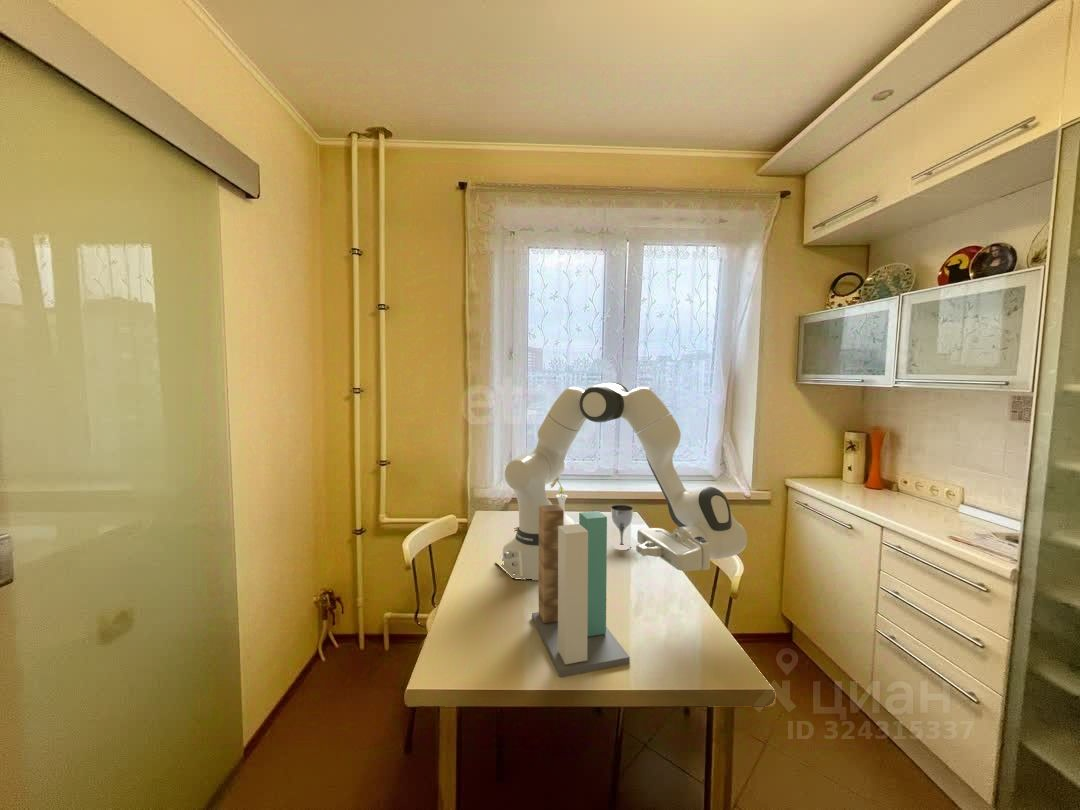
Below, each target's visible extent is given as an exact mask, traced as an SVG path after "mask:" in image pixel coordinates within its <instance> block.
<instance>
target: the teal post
mask: <svg viewBox="0 0 1080 810" xmlns="http://www.w3.org/2000/svg"><path fill="white" fill-rule="evenodd" d="M578 513H579V514H578V515H579V519H578V522H579V523H578V524H580V525H581V526H582V527H584V528H585V529H586V530H587V531H588V630H587V637H588V636H594V635H600V634H606V627H607V575H608V574H607V567H608V566H607V565H608V562H607V560H608V559H607V557H608V554H607V552H608V548H607V547H608V546H607V544H608V542H607V541H608V536H607V535H608V518H607V516H606V515H604V514H603V513H602V512H601V511H599V510H596V511H595V510H594V511H584V512H578Z"/></svg>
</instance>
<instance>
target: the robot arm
mask: <svg viewBox="0 0 1080 810" xmlns="http://www.w3.org/2000/svg"><path fill="white" fill-rule="evenodd" d="M620 418H621V419H623V420H626V421H627V423H629V425H630V427H631V428H632V429H633V431H634V433H635V434H636V436H637V438H638V440H639V441H640V443H641V446H642V447H643V450H644V452H645V456H646V457H645V458H646V461H647V464H648V466H649V468H650V470H651V472H652V474H653V476H654V478H655V480H656V482H657V484H658V486H659V488H660V490H661V492H662V493H663V496H664V498H665V501H666V504H667V508H668V513H669V516H670V518H671V520H672V521H673V523H674V524H675V525H676V526H677V527H676V528H675V529H674V530H673V532H670V531H668V530H666V529H665V528H661V527H648V528H647V527H646V528H645V527H644V528H639V529H638V530H637V538H636V539H637V542H638V543H639V544H637V545H636V546H635V551H636V552H637V553H638V554H640V555H641V556H643V557H645V556H647V557H648V556H651V557H654V558H655V557H656V558H658V557H659V558H660V559H662V560H663V561H665V562H666V563H667V564H669V565H670V566H672V567H673V568H674V569H676V570H678V571H683V572H689V571H690V572H691V571H699V570H702V571H708V570H710V567H711V565H710V564H711V559H712V560H713V559H714V560H719V559H725V558H730V557H733V556H736V555H737V556H738V555H739V554H741V553H742V552H743V551H744V549H745V548H746V546H747V542H748V535H747V532H746V529H745V528H744V526H743V525H742V524H741V523H739V521H737V519H736V518H735V516H734V514H733V513H732V511H731V507H730V502H729V500H728V498H727V496H726V495H725V493H724V492H723V491H721V490H720V489H719V488H717V487H714V486H713V487H712V486H707V487H704V488H699V489H696V490H694V491H693V490H692V491H689V490H687V489H686V488H685V487H684V485H683V482H682V480H681V479H680V476H679V474H678V473H677V470H676V469H675V466H674V463H673V456H674V453H675V451H676V450H677V448H678V447H679V444H680V442H681V430H680V427H679V424H678V423H677V421H676V419H675V418H674V416H673V415H672V414H671V412H670V410H669V409H668V407H667V406H666V405H665V404H664V402H663V401H662V400H661V398H660V397H659V396H657V394H655V392H654V391H653V390H652V389H651V388H649V387H647V386H639V387H636V388H633V389H631V390H630V391H629V389H627V387H626V386H624V385H623V384H621V383H619V382H601V383H599V384H594V385H591V386H589V387H588V388H587V389H585V390H584V389H583V388H581V387H576V386H569V387H567V388H565V389H564V390H563V391H562V392H561V394H560V395H559V396H558V397H557V399H556V400H555V401H554V403H553V404H552V406H551V407H550V409H549V411H548V413H547V414H546V416H545V418H544V419H543V422H542V423H541V425H540V427H539V428H538V431H537V438H538V441H537V444H536V446H535V449H534V450H532V452H530V453H526V454H521V455H519V456H517V457H516V458H513V459H512V460H511V461H509V462H508V464H507V465H506V467H505V470H504V479H505V482H506V483H507V485H508V486H509V487H510V488H511V489H512V490H513V492H514V494H515V497H516V500H517V504H518V526H517V527H514V528H513V529H514V531H513V532H516V533H515V537H514V538H512V539H511V540H510V541H508V542H507V543H506V544H504V546H503V547H502V556H503V558H502V561H504V565H503V564H502V565H501V566H502V567H503V568H504V569H505V570H506V571H507V572H508V573H509V574H510V575H511V576H512V577H513V578H525V579H524V580H526V579H532V580H531V581H539V506H546V505H553V504H552V501H551V500H549V498H548V497H547V493H546V485H547V484H549V483H552V481H554V480H555V479H557V478H558V477H559V478H560V477H561V475H562V474H563V472H564V471H565V459H566V456H567V454H568V451H569V449H570V447H571V446H572V443H573V442H574V440H575V439H576V437H577V436H578V433H579V432H580V430H581V429H582V426H583V425H584V423H585V421H586V420H588V421H591V422H594V423H606V422H609V421H612V420H617V419H620ZM559 478H558V479H559ZM513 574H515V575H513Z"/></svg>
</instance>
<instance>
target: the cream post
mask: <svg viewBox="0 0 1080 810" xmlns="http://www.w3.org/2000/svg"><path fill="white" fill-rule="evenodd" d="M587 630H588V531H587V530H586V529H585V528H584V527H582V526H581V525H580V524H579V523H578V524H577V523H576V524H575V525H564V526H558V652H559V654H560V655H561V657H562V659H563V661H564V663H565V665H566V664H571V663H576V662H582V661H587Z"/></svg>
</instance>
